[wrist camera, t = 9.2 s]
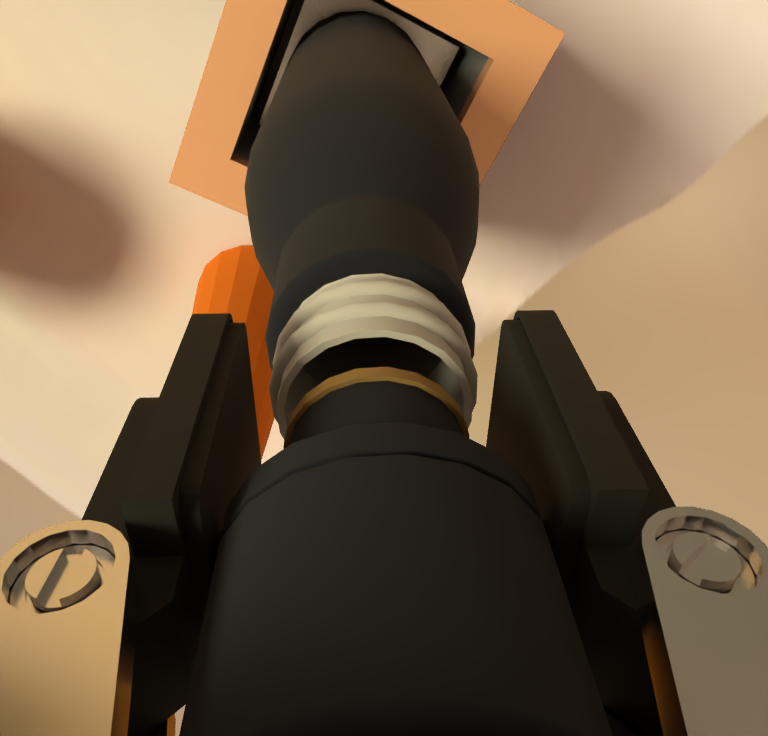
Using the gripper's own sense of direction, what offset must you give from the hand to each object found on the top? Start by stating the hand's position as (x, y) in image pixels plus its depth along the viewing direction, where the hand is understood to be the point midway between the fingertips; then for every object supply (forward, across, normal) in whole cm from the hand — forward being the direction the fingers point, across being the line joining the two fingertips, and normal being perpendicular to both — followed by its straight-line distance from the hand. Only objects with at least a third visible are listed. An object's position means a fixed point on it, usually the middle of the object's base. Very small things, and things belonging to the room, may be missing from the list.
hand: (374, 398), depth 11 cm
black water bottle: (+24, 0, 0) cm, 24 cm away
